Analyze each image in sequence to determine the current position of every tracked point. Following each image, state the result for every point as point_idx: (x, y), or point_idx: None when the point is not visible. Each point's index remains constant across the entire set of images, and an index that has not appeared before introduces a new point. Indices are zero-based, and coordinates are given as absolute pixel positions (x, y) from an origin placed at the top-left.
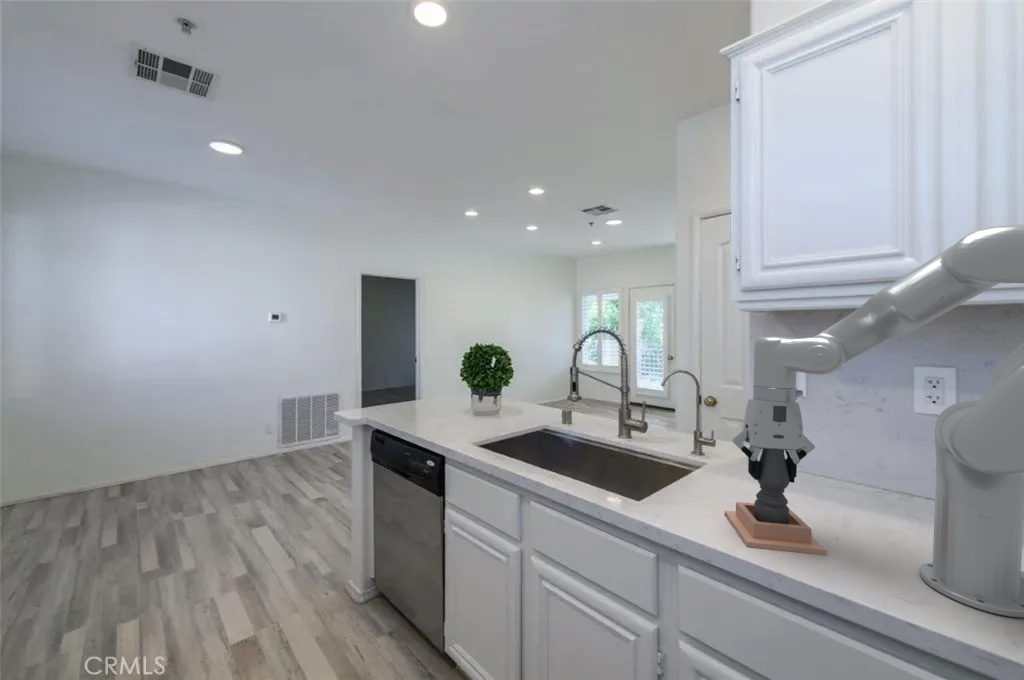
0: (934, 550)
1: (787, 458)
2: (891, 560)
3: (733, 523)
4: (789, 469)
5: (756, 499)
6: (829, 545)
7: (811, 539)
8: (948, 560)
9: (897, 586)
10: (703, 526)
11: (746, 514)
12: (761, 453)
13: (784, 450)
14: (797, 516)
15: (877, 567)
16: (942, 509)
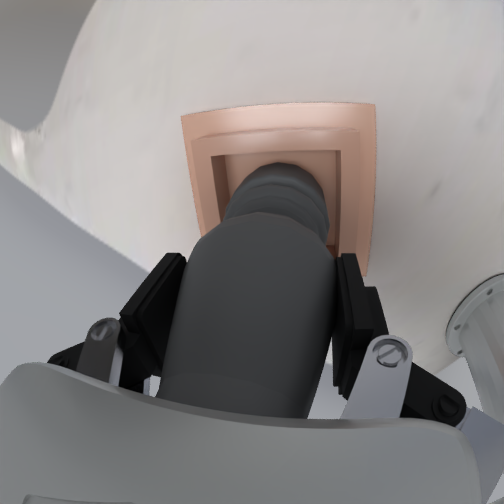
0: (483, 342)
1: (350, 369)
2: (465, 262)
3: (193, 190)
4: (333, 353)
5: (234, 195)
6: (397, 227)
7: (361, 237)
8: (470, 361)
9: (408, 330)
10: (137, 201)
11: (206, 228)
12: (162, 370)
13: (347, 402)
14: (358, 208)
15: (425, 289)
16: (495, 417)
